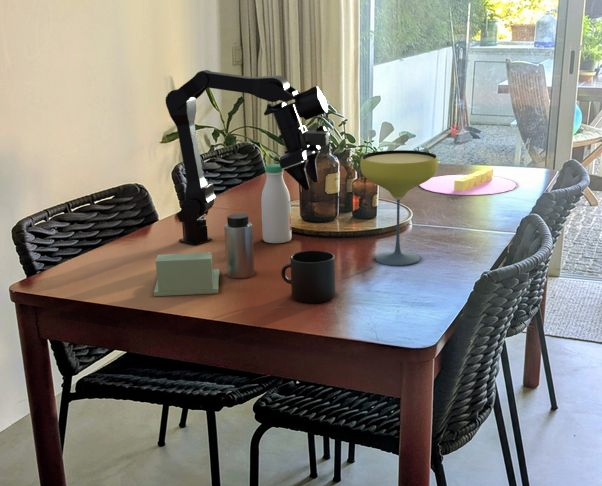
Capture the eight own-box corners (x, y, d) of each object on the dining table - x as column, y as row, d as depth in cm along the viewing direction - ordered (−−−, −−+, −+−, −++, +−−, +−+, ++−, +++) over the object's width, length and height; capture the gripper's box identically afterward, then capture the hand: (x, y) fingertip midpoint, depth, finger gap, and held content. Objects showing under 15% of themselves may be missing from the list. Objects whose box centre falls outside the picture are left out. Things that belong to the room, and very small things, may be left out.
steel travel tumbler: (221, 275, 203) (217, 216, 198) (241, 268, 207) (238, 211, 202) (240, 280, 199) (237, 220, 194) (260, 273, 203) (257, 215, 198)
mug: (290, 286, 193) (289, 247, 190) (341, 291, 189) (340, 252, 186) (274, 300, 185) (272, 259, 182) (326, 305, 181) (325, 264, 178)
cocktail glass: (348, 255, 216) (347, 154, 206) (411, 245, 222) (413, 147, 213) (382, 274, 200) (383, 166, 191) (449, 263, 206) (453, 158, 197)
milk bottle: (288, 244, 226) (285, 168, 219) (259, 243, 228) (256, 167, 220) (294, 236, 233) (292, 162, 226) (266, 236, 235) (263, 162, 227)
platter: (531, 180, 292) (532, 170, 291) (491, 199, 268) (492, 188, 267) (446, 172, 310) (446, 162, 309) (401, 188, 286) (402, 178, 285)
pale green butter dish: (159, 275, 204) (156, 242, 201) (219, 273, 204) (217, 240, 202) (154, 296, 190) (150, 261, 187) (218, 293, 191) (215, 258, 188)
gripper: (310, 120, 203) (333, 183, 207) (327, 110, 220) (348, 168, 224) (268, 136, 207) (291, 197, 211) (288, 125, 223) (309, 182, 228)
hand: (312, 185), depth 218 cm, fingers open, 9 cm apart
